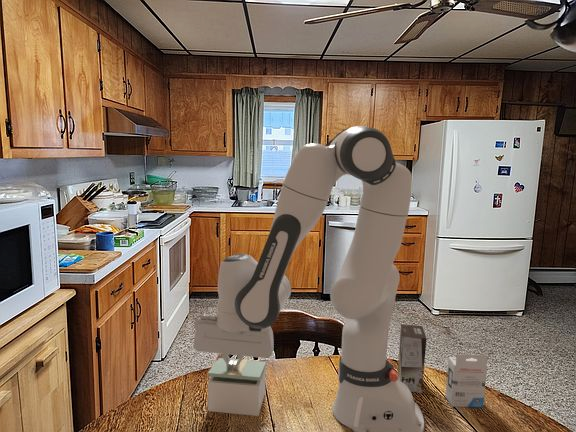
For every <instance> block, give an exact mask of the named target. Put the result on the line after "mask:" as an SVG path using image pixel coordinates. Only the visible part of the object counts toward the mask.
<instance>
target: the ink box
mask: <svg viewBox="0 0 576 432" xmlns="http://www.w3.org/2000/svg"><path fill="white" fill-rule="evenodd" d="M487 364H488V355H487V354H456V355H455V357H454V356H448V359H447V370H446V386H445V395H444V397H445V398H446V399H447V401H448V403H449V404H450V406H451V407H457V408H484V404H485V403H484V401H485V393H486V392H485V391H486V383H487V382H486V381H487V374H488V373H487V372H488V366H487Z"/></svg>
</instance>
